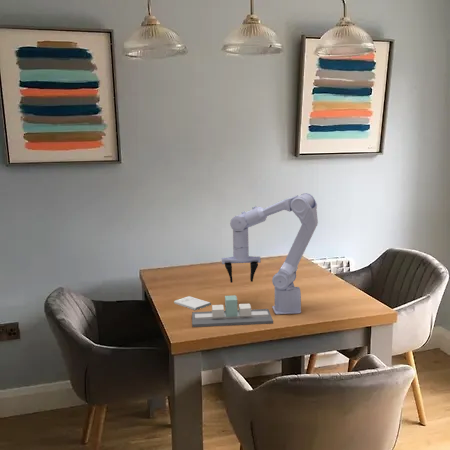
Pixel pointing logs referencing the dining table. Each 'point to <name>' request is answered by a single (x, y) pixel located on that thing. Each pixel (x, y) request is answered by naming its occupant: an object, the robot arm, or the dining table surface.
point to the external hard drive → (192, 303)
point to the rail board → (219, 317)
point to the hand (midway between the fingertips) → (241, 281)
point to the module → (231, 306)
